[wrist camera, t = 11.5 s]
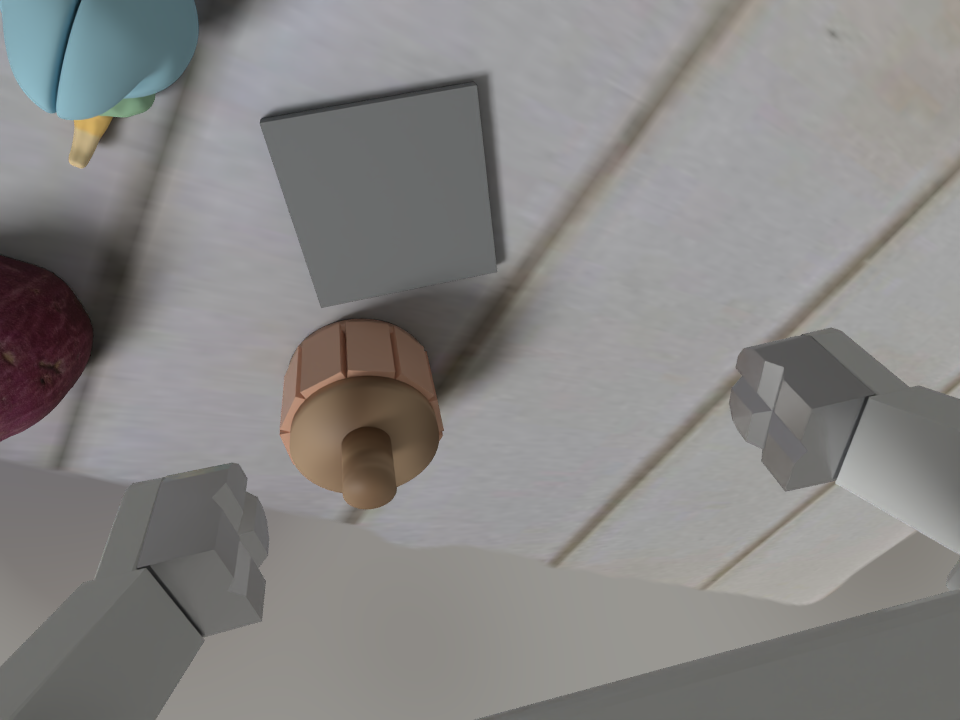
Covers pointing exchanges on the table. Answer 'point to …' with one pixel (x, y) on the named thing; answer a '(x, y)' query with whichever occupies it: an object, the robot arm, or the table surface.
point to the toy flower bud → (97, 58)
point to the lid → (364, 438)
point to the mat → (387, 191)
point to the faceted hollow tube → (354, 363)
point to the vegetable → (37, 343)
